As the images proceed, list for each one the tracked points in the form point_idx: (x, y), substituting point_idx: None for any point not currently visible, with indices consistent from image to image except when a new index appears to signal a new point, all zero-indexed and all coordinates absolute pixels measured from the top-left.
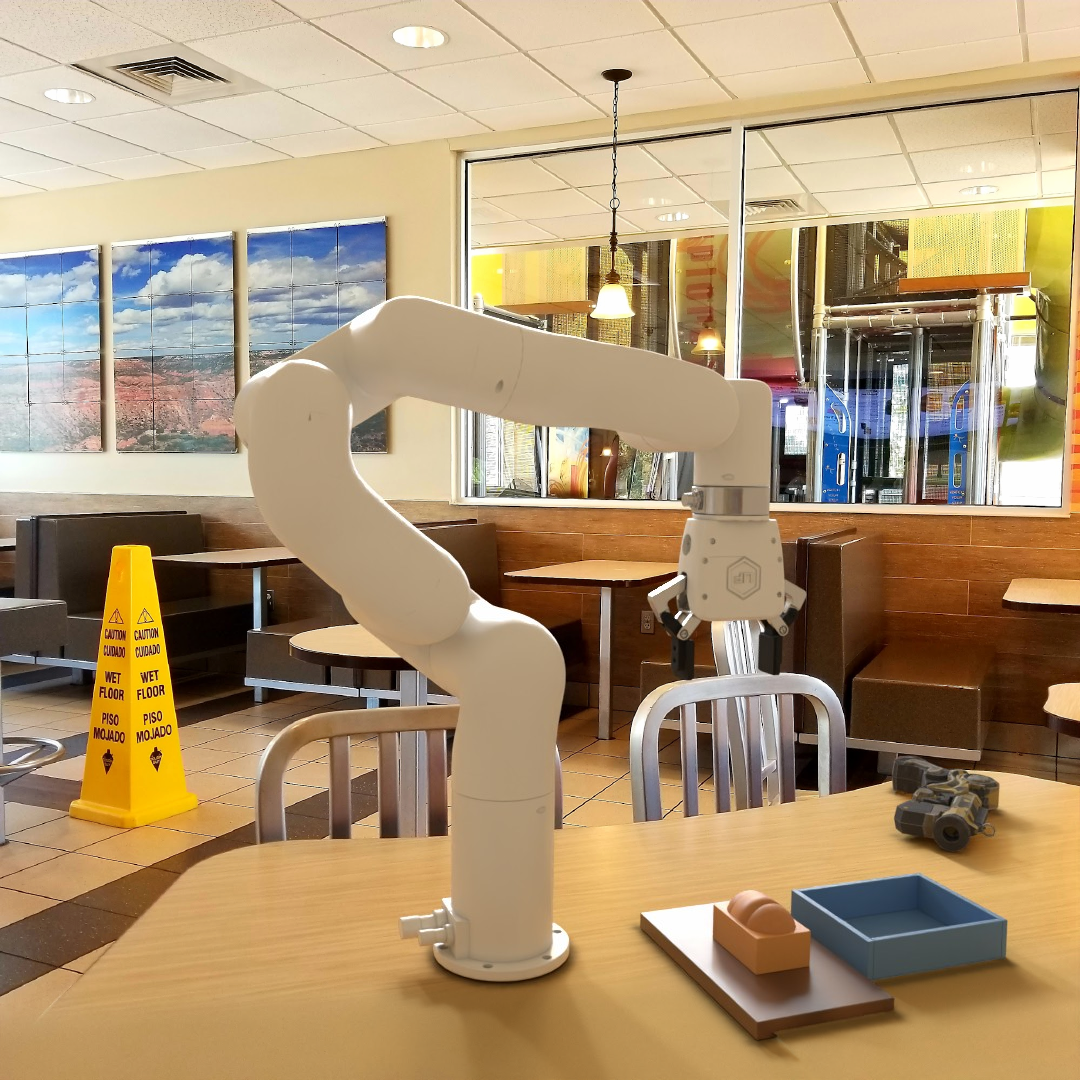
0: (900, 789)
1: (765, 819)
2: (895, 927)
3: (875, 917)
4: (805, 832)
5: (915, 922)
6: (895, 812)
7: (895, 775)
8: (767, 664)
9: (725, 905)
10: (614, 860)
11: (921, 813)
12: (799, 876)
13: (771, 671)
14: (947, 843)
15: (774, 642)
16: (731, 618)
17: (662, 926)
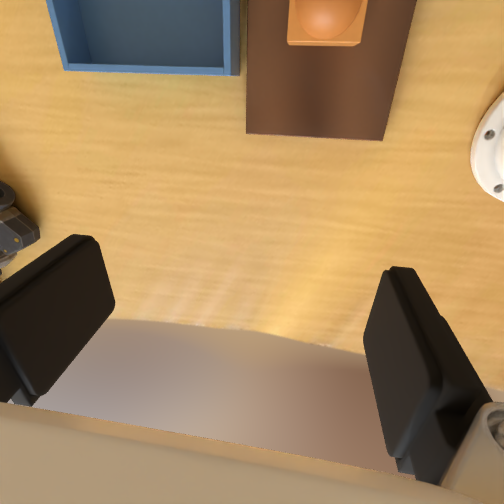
0: None
1: (140, 300)
2: (135, 24)
3: (144, 59)
4: (119, 267)
5: (109, 29)
6: (29, 244)
7: None
8: (89, 281)
9: (349, 31)
10: (307, 277)
11: (6, 224)
12: (167, 189)
13: (94, 251)
14: (5, 190)
15: (9, 304)
16: (223, 454)
17: (385, 97)
